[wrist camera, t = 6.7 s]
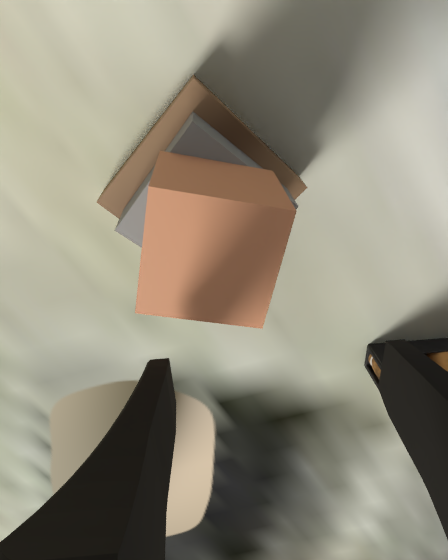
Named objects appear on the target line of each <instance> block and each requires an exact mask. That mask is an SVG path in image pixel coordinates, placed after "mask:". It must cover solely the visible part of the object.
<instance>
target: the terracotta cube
mask: <svg viewBox="0 0 448 560" xmlns="http://www.w3.org/2000/svg"><path fill="white" fill-rule="evenodd" d="M295 214H296V209H295V207H294V206H293V204H292V202H291V201H290V199H289V197H288V195H287V194H286V192H285V190H284V189H283V187H282V185H281V184H280V182H279V180H278V178H277V177H276V175H275V173H274V172H273V171H272V170H266V169H260V168H255V167H249V166H244V165H238V164H232V163H227V162H221V161H216V160H210V159H204V158H199V157H193V156H188V155H182V154H176V153H171V152H165V151H160V152H159V155H158V158H157V161H156V164H155V167H154V170H153V173H152V177H151V180H150V183H149V186H148V194H147V204H146V213H145V223H144V233H143V242H142V252H141V262H140V271H139V281H138V290H137V300H136V310H135V313H138V314H147V315H155V316H163V317H171V318H179V319H188V320H196V321H204V322H212V323H221V324H229V325H237V326H245V327H253V328H263V325H264V321H265V318H266V314H267V311H268V307H269V304H270V300H271V297H272V294H273V290H274V287H275V283H276V280H277V276H278V273H279V269H280V266H281V263H282V259H283V256H284V252H285V249H286V245H287V242H288V238H289V235H290V232H291V228H292V225H293V221H294V218H295Z"/></svg>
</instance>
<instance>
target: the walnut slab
mask: <svg viewBox="0 0 448 560" xmlns="http://www.w3.org/2000/svg"><path fill="white" fill-rule="evenodd" d="M192 112H194V113H196V114H197V115H198V116H199V117H200V118H202V119H203V120H204V121H205V122H207V123H208V124H209V125H210V126H211V127H213V128H214V129H215V130H216V131H218V132H219V133H220V134H221V135H223V136H224V137H225V138H226V139H227V140H229V141H230V142H231V143H232V144H234V145H235V146H236V147H237V148H238V149H240V150H241V151H242V152H243V153H245V154H246V155H247V156H248V157H250V158H251V159H252V160H253V161H254V162H256V163H257V164H258V165H259V166H261V167H262V168H263V169H266V170H272V171H273V172H274V173H275V175H276V177H277V178H278V180H279V182H280V183H281V184H283V185H284V186H285V187H286V188H287V189H288V190H289V192H290V194H291V195H292V197H293V198H294V200H295V199H296V198H297V197H298V196H299V195H300V194H301V193H302V192H303V191H304V190H305V189H306V188H307V187H306V185H305V184H304V183H303V181H302V180H301V179H300V177H299V176H298V175H297V174H296V173H295V172H294V171H293V170H292V169H291V168H289V167H288V166H287V165H286V164H285V163H284V162H283V161H282V160H281V159H280V158H279V157H278V156H277V155H276V154H275V153H274V152H273V151H272V150H271V149H270V148H269V147H268V146H267V145H266V144H265V143H264V142H263V141H262V140H261V139H259V138H258V137H257V136H256V135H255V134H254V133H253V132H252V131H251V130H250V129H249V128H248V127H247V126H246V125H245V124H244V123H243V122H242V121H241V120H240V119H239V118H238V117H237V116H236V115H235V114H234V113H233V112H232V111H230V110H229V109H228V108H227V107H226V106H225V105H224V104H223V103H222V102H221V101H220V100H219V99H218V98H217V97H216V96H215V95H214V94H213V93H212V92H211V91H210V90H209V89H208V88H207V87H206V86H205V85H204V84H203V83H202V82H200V81H199V80H198V79H197V78H196V77H195V76H194V75H193V76H192V77H191V78H190V80H189V81H188V82H187V83H186V85H185V86H184V87H183V89H182V90H181V91H180V92H179V94H178V95H177V96H176V98H175V99H174V100H173V101H172V103H171V104H170V105H169V107H168V108H167V109H166V110H165V112H164V113H163V114H162V116H161V117H160V118H159V119H158V121H157V122H156V123H155V125H154V126H153V127H152V128H151V130H150V131H149V132H148V134H147V135H146V136H145V137H144V139H143V140H142V141H141V143H140V144H139V145H138V147H137V148H136V149H135V150H134V152H133V153H132V154H131V156H130V157H129V158H128V159H127V161H126V162H125V163H124V165H123V166H122V167H121V168H120V170H119V171H118V172H117V174H116V175H115V176H114V177H113V179H112V180H111V181H110V183H109V184H108V185H107V186H106V188H105V189H104V190H103V192H102V194H101V195H100V197H99V199H98V200H97V203H98V204H100V205H101V206H102V207H104V208H105V209H107V210H108V211H109V212H111V213H112V214H113V215H115V216H116V217H117V218H119V219H120V217H121V214H122V212H123V209H124V208H125V207H126V205H127V204H128V202H129V201H130V200H131V198H132V197H133V195H134V194H135V192H136V191H137V190H138V188H139V187H140V185H141V184H142V183H143V181H144V180H145V178H146V177H147V175H148V174H149V173H150V171H151V170H152V168H153V167H154V165H155V164H156V161H157V158H158V155H159V152H160V151H165V150H166V148H167V147H168V146H169V144H170V143H171V141H172V140H173V139H174V137H175V136H176V134H177V133H178V131H179V130H180V129H181V127H182V126H183V124H184V123H185V122H186V120H187V119H188V117H189V116H190V114H191V113H192Z"/></svg>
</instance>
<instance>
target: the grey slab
mask: <svg viewBox="0 0 448 560" xmlns="http://www.w3.org/2000/svg"><path fill="white" fill-rule="evenodd" d="M165 152H171V153H176V154H182V155H188V156H193V157H199V158H204V159H210V160H216V161H221V162H227V163H232V164H238V165H244V166H249V167H255V168H260V169H263V168H262V167H261V166H259V165H258V164H257V163H256V162H254V161H253V160H252V159H251V158H250V157H248V156H247V155H246V154H245V153H243V152H242V151H241V150H240V149H238V148H237V147H236V146H235V145H234V144H232V143H231V142H230V141H229V140H227V139H226V138H225V137H224V136H223V135H221V134H220V133H219V132H218V131H216V130H215V129H214V128H213V127H211V126H210V125H209V124H208V123H207V122H205V121H204V120H203V119H202V118H200V117H199V116H198V115H197V114H196V113H194V112H192V113H191V114H190V116H189V117H188V119H187V120H186V122H185V123H184V124H183V126H182V127H181V129H180V130H179V131H178V133H177V134H176V136H175V137H174V139H173V140H172V141H171V143H170V144H169V146H168V147H167V148H166V150H165ZM154 167H155V165H154ZM154 167H153V168H152V170H151V171H150V173H149V174H148V175H147V177H146V178H145V180H144V181H143V183H142V184H141V185H140V187H139V188H138V190H137V191H136V192H135V194H134V195H133V197H132V198H131V200H130V201H129V202H128V204H127V205H126V207H125V208H124V209H123V212H122V214H121V217H120V219H119V221H118V224H117V226H116V228H115V231H116V232H118V233H120V234H121V235H123V236H124V237H126V238H127V239H129V240H131V241H132V242H134V243H135V244H137V245H138V246H140V247H142V242H143V233H144V223H145V213H146V204H147V194H148V186H149V183H150V180H151V177H152V173H153V170H154ZM280 184H281V183H280ZM281 185H282V187H283V189H284V190H285V192H286V194H287V195H288V197H289V199H290V201H291V202H292V204H293V206H294V207H295V209H297V208H298V205H297V203H296V202H295V200H294V198H293V197H292V195H291V194H290V192H289V190H288V189H287V188H286V187H285V186H284V185H283V184H281Z"/></svg>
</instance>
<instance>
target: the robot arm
mask: <svg viewBox="0 0 448 560" xmlns="http://www.w3.org/2000/svg"><path fill="white" fill-rule="evenodd" d="M378 388H379V391H380V394H381V396H382V399H383V402H384V405H385V407H386V410H387V412H388V415H389V417H390V419H391V421H392V423H393V425H394V426H395V428H396V430H397V432H398V434H399V436H400V438H401V440H402V442H403V443H404V445H405V447H406V449H407V451H408V453H409V455H410V457H411V458H412V460H413V462H414V464H415V466H416V468H417V470H418V472H419V473H420V475H421V477H422V479H423V481H424V484H425V486H426V488H427V490H428V492H429V495H430V497H431V499H432V502H433V504H434V507H435V509H436V511H437V514H438V516H439V519H440V521H441V524H442V526H443V529H444V532H445V534H446V537H447V539H448V371H446V370H445V369H443V368H442V367H441V366H439V365H438V364H437V363H435V362H434V361H433V360H431V359H430V358H429V357H427V356H426V355H425V354H423V353H422V352H421V351H419V350H418V349H417V348H415V347H414V346H413V345H411V344H410V343H409V342H407V341H406V340H391V341H386V344H385V350H384V355H383V361H382V367H381V372H380V378H379V383H378ZM175 434H176V399H175V393H174V387H173V380H172V374H171V367H170V361H169V358H166V359H153V360H150V361H149V362H148V363H147V365H146V368H145V370H144V372H143V374H142V376H141V378H140V380H139V382H138V384H137V386H136V387H135V389H134V391H133V393H132V395H131V396H130V398H129V400H128V401H127V403H126V405H125V407H124V409H123V410H122V411H121V413H120V415H119V416H118V418H117V419H116V421H115V422H114V424H113V425H112V427H111V428H110V430H109V431H108V432H107V434H106V435H105V437H104V438H103V439H102V441H101V442H100V443H99V445H98V446H97V447H96V448H95V450H94V451H93V452H92V453H91V455H90V456H89V457H88V458H87V460H86V461H85V462H84V463H83V464H82V465H81V466H80V468H79V469H78V470H77V471H76V472H75V473H74V475H73V476H72V477H71V478H70V479H69V480H68V481H67V482H66V483H65V484H64V485H63V486H62V487H61V488H60V489H59V490H58V491H57V492H56V493H55V494H54V495H53V496H52V497H51V498H50V499H49V500H48V501H47V502H46V503H45V504H44V505H43V506H42V507H41V508H40V509H39V510H37V511H36V512H35V513H34V514H33V515H32V516H31V517H30V518H28V519H27V520H26V521H25V522H24V523H23V524H21V525H20V526H19V527H18V528H17V529H16V530H14V531H13V532H12V533H11V534H10V535H8V536H7V537H6V538H5V539H4V540H2V541H1V542H0V560H165V538H166V511H167V498H168V491H169V483H170V474H171V467H172V459H173V451H174V442H175Z"/></svg>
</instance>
